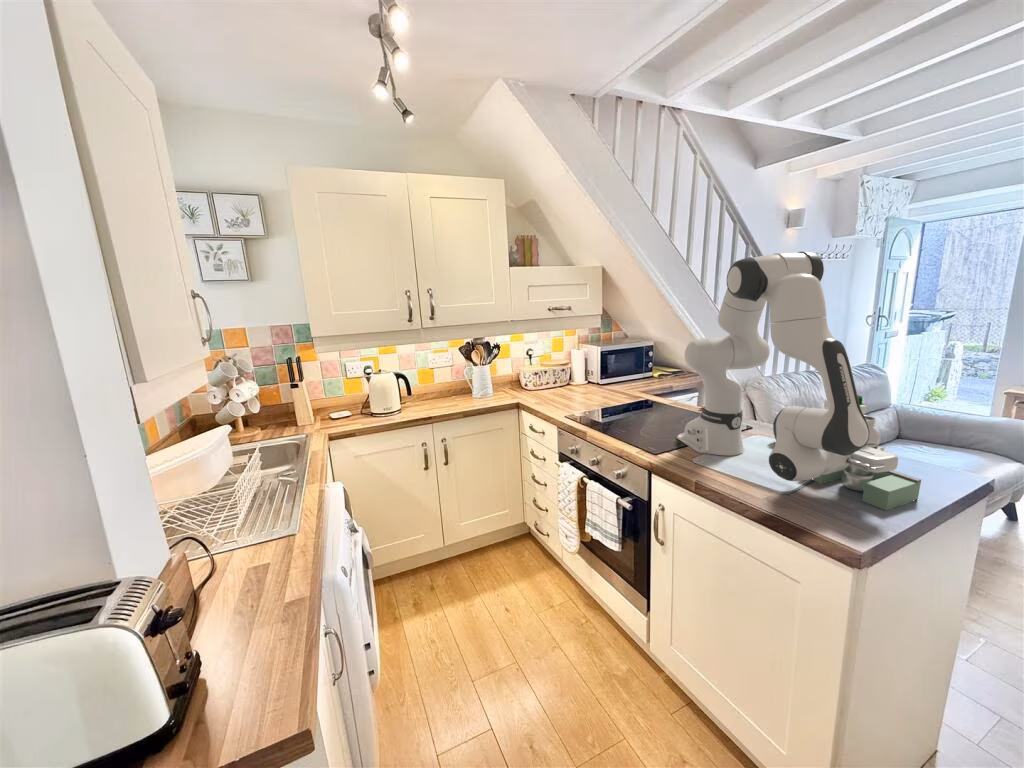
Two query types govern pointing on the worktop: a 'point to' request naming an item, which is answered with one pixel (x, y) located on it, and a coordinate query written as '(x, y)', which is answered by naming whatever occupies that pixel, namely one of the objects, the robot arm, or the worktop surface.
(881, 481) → the green u-shaped bracket
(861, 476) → the plastic bottle
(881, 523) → the worktop surface
